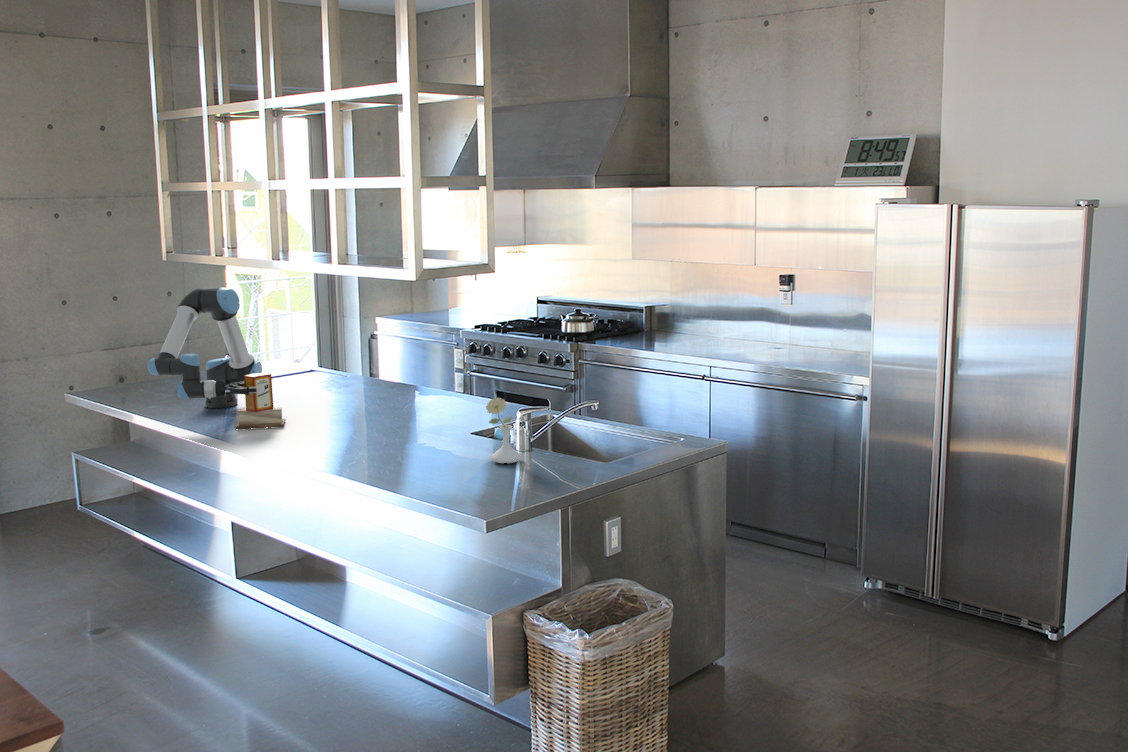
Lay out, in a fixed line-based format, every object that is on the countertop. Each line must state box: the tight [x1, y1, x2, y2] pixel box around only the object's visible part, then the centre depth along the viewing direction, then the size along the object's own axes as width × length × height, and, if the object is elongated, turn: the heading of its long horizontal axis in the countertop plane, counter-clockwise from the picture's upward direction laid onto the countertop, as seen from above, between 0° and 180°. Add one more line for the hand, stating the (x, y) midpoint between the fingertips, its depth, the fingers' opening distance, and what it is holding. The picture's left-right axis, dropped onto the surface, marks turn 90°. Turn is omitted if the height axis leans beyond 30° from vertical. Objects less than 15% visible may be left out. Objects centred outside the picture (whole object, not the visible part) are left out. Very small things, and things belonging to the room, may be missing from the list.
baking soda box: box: [244, 372, 274, 412], centre depth 415 cm, size 10×6×16 cm
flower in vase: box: [485, 397, 522, 464], centre depth 354 cm, size 13×11×25 cm
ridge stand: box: [235, 407, 286, 430], centre depth 418 cm, size 12×20×8 cm, turn 102°
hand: (266, 386), depth 416 cm, fingers open, 13 cm apart
